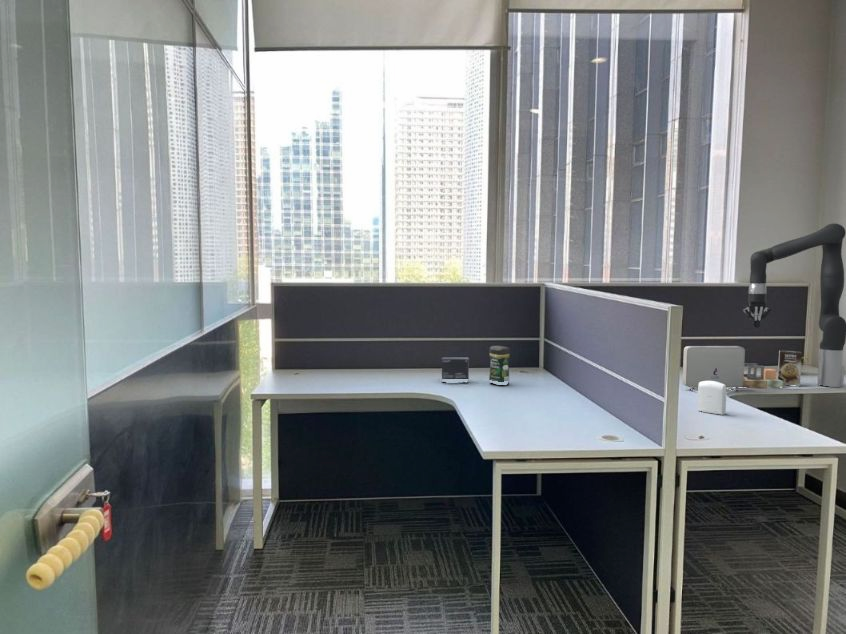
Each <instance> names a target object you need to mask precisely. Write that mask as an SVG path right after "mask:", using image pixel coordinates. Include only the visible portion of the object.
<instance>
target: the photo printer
mask: <svg viewBox="0 0 846 634" xmlns="http://www.w3.org/2000/svg"><path fill="white" fill-rule="evenodd" d="M697 390H698V392H697V411H698V412H701V411H702V413H708V414H716V415H721V416H725V415H726V407H727V392H726V391H727V389H726V385H724V384H722V383H719V382H716V381H702V382H700V383H699V385H698V389H697Z"/></svg>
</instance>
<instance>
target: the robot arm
mask: <svg viewBox="0 0 846 634" xmlns="http://www.w3.org/2000/svg"><path fill="white" fill-rule="evenodd" d="M845 237H846V229H845V228H844V226H843V225H842V224H839V223H829V224H826V225H825V226H823V227H822V228H821V229H819V230H817V231H815V232H812V233H810V234H807V235H804V236H801V237H798V238H794V239H791V240H787V241H785V242H780V243H779V244H776V245H773V246H771V247H768V248H764V249H762V250H759V251H755V252H753V253H752V254H751V256H750V274H749V286H748V304H747V305H746V306H747V307H746V308H743V309H742V312H743V313H744V314H745V315H746V317H747V319H749V320H752V328H753V329H759V328H760V325H761V321H762V320H764V319H765V318H767V316H768V315H769V314H770V312H771V311H772V309H771V308H768V307H767V264H769V263H771V262H774V261H777V260H782V259H785V258H788V257H791V256H793V255H796V254H799V253H801V252H805V251H807V250H810V249H813V248H816V247H819V246H821V250H822V256H821V257H822V258H821V264H820V265H821V266H820V274H819V275H820V277H819V282H820V285H819V286H820V309H819V318H818V327H819V329H820V331H822V339H821V341H820V343H819V352H818V368H817V369H818V370H817V385H818V384H820V385H823V386H822V387H825V386H829V387H828V388H840V387H844V378H845V366H844V365H843V360H844V359H843V358H844V347H845V344H846V320H845V318H844V317H842V316H840V300H841V298H842V294H843V292H844V287H845V268H844V263H843V262H844V261H843V257H842V255H843V254H842V248H843V240H844V239H845ZM820 385H819V386H820Z"/></svg>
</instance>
